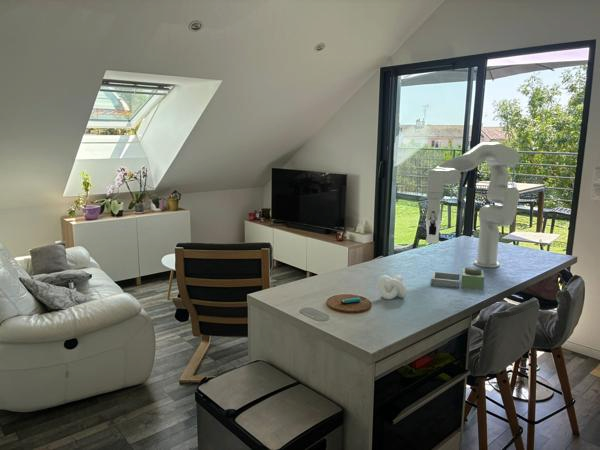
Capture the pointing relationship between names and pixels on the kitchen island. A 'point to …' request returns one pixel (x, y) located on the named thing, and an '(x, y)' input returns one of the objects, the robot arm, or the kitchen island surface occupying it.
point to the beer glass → (434, 238)
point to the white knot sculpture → (391, 287)
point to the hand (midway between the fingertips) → (432, 232)
